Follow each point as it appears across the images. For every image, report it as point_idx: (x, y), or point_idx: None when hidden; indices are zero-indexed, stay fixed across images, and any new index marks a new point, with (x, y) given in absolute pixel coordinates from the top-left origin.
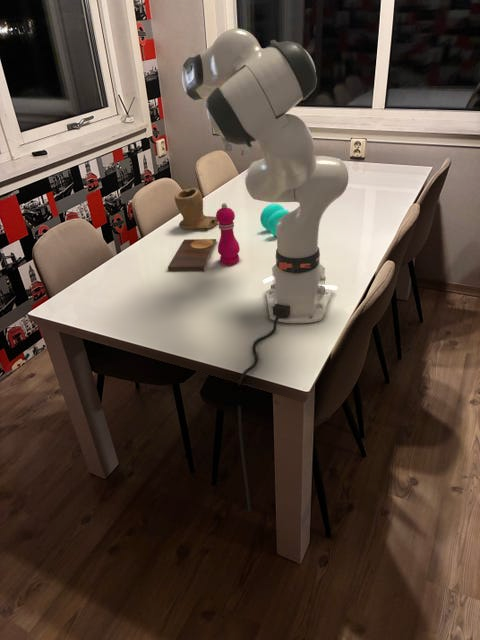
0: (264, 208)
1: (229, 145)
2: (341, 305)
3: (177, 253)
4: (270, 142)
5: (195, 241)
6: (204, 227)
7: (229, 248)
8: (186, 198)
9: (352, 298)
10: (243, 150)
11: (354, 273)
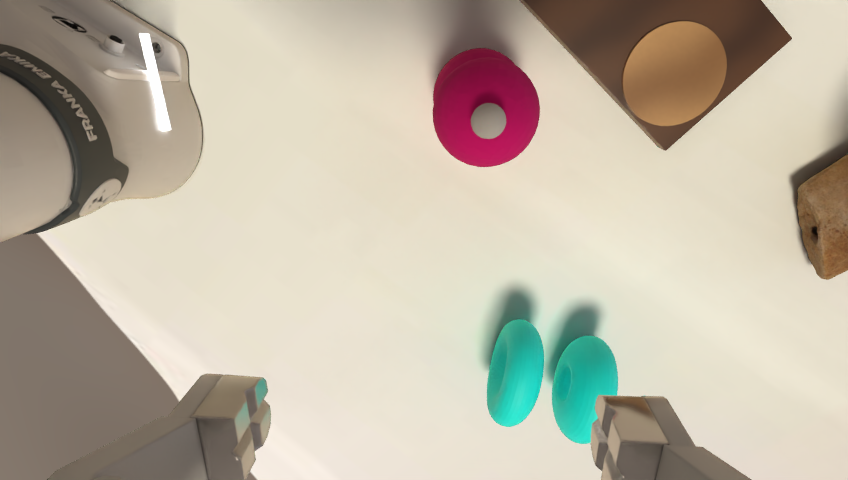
0: (610, 388)
1: (615, 474)
2: None
3: None
4: None
5: (718, 63)
6: (809, 178)
7: (440, 79)
8: None
9: None
10: (175, 417)
11: (158, 318)
